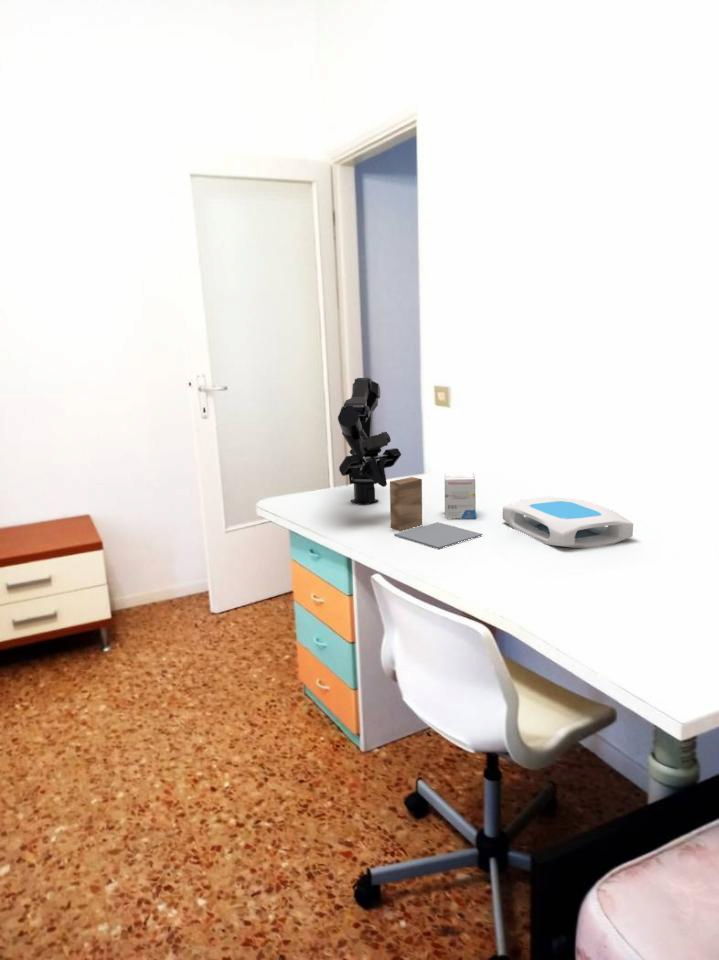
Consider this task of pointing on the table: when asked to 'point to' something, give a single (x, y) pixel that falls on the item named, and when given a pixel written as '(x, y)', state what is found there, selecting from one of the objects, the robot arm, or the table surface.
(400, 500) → the walnut domino block
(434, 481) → the table surface
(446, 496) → the ink box
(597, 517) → the white blue plastic platform
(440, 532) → the mat
